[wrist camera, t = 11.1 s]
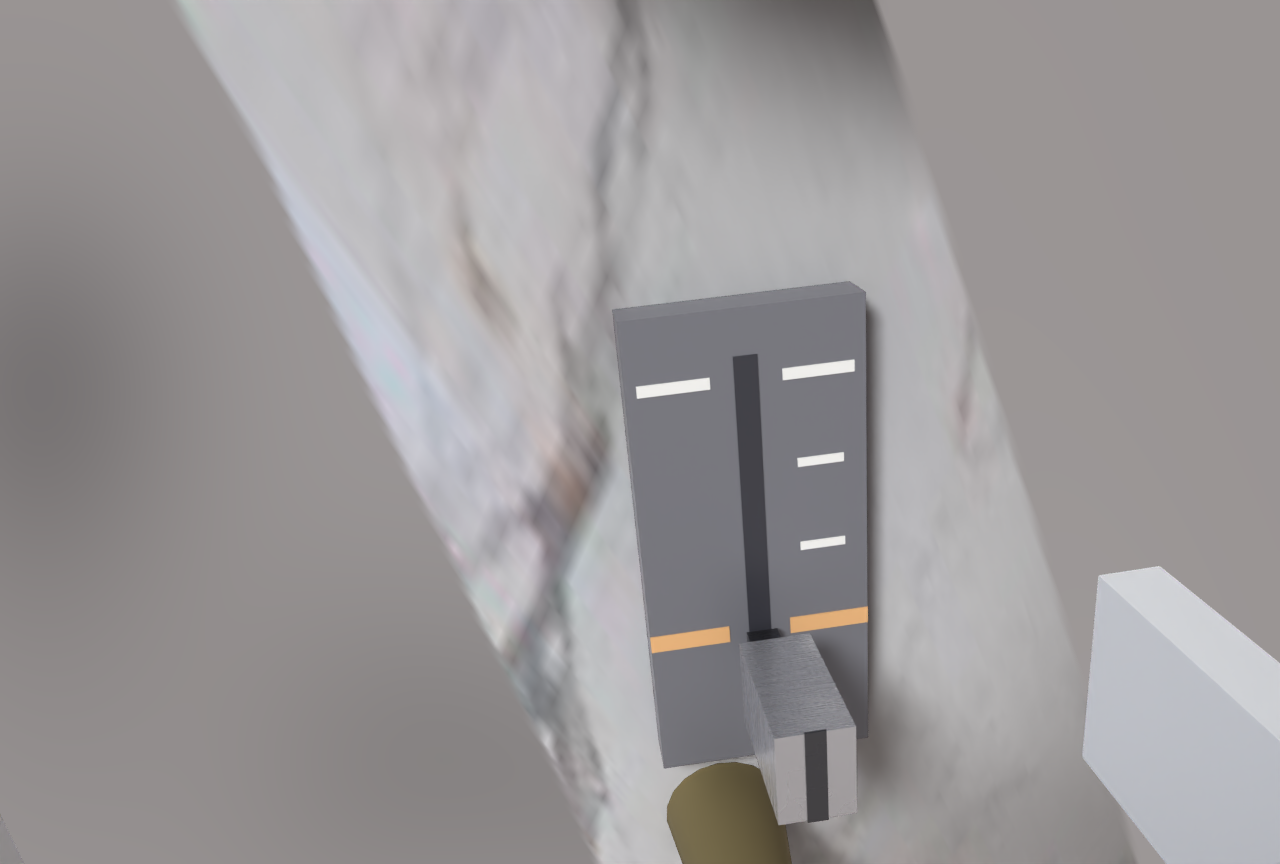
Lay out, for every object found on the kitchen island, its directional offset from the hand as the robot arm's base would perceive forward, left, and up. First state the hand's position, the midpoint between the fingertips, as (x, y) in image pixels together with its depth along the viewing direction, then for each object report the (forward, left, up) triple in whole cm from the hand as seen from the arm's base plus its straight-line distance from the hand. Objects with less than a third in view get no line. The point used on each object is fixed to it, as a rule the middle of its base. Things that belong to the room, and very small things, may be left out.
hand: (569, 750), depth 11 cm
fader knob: (+17, +8, -26) cm, 32 cm away
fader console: (+13, +8, -28) cm, 32 cm away
